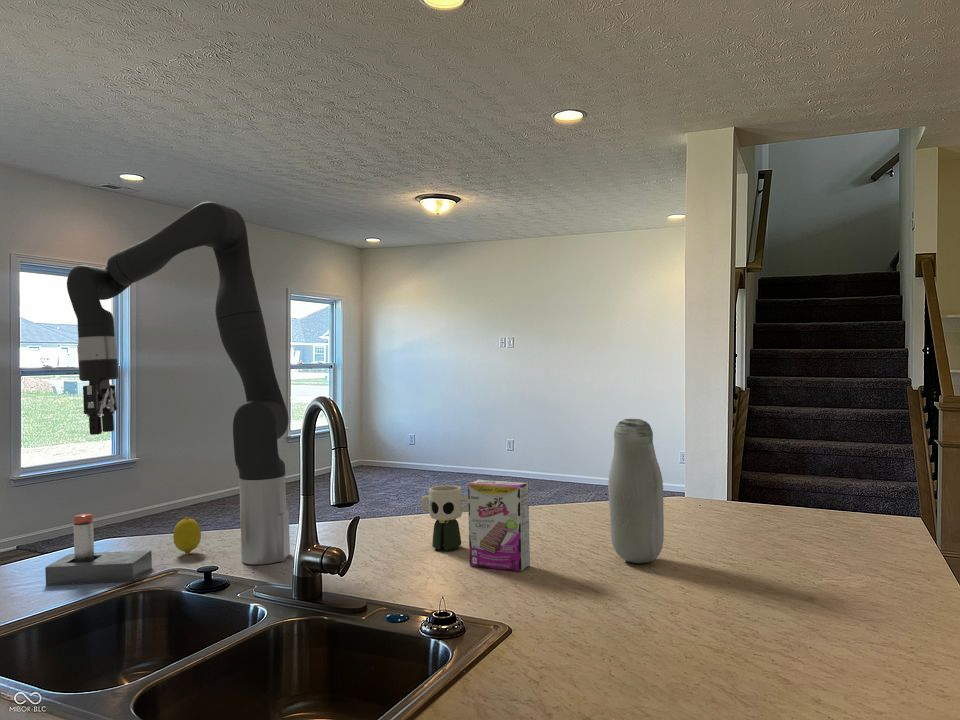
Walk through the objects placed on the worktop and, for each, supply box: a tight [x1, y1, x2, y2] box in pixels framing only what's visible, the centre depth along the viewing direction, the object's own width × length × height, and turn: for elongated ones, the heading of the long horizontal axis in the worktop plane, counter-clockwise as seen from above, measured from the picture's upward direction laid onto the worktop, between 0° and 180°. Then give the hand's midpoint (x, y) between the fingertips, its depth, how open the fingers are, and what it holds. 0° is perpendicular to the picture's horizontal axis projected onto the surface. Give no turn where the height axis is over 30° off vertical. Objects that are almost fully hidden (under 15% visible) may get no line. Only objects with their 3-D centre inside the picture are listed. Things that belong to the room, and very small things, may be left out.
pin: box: [72, 513, 95, 563], centre depth 140 cm, size 3×3×12 cm
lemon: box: [172, 516, 202, 555], centre depth 155 cm, size 6×6×8 cm
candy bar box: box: [467, 479, 531, 572], centre depth 140 cm, size 11×5×16 cm, turn 65°
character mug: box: [421, 484, 469, 551], centre depth 154 cm, size 11×7×13 cm, turn 74°
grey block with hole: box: [44, 549, 153, 586], centre depth 140 cm, size 16×9×4 cm, turn 94°
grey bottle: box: [607, 418, 665, 564], centre depth 141 cm, size 10×10×28 cm
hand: (102, 432), depth 155 cm, fingers open, 8 cm apart
